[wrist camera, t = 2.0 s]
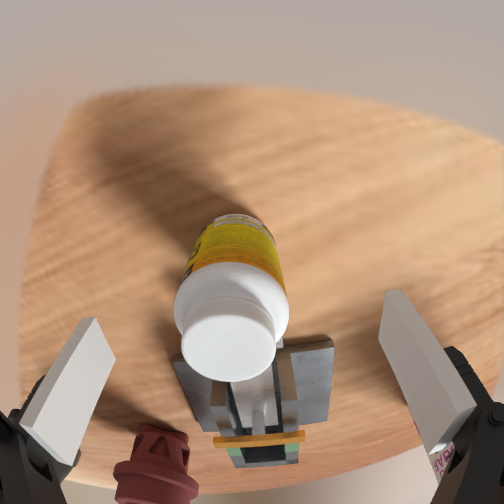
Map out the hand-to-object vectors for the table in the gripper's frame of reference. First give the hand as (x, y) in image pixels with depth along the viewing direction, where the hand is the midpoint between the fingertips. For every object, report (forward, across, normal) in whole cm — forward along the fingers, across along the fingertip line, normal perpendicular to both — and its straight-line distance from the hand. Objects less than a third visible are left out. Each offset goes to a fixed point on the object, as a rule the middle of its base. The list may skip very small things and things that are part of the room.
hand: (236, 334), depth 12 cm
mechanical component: (+9, -14, -25) cm, 30 cm away
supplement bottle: (+10, 0, 0) cm, 10 cm away
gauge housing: (+9, 0, -16) cm, 18 cm away
